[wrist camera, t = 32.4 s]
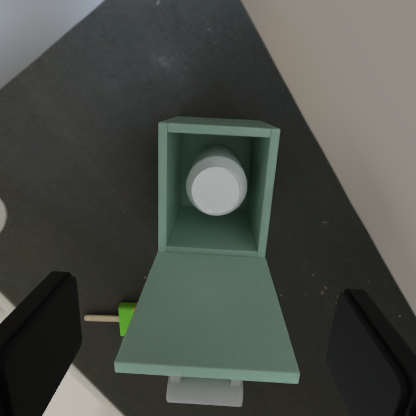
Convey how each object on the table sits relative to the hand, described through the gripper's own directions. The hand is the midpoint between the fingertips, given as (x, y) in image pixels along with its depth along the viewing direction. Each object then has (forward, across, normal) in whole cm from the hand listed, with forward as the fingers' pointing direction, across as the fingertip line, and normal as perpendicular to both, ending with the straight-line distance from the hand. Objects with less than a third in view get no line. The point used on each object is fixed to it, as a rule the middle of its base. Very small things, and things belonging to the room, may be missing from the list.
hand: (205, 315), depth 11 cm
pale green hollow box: (+32, 0, +1) cm, 32 cm away
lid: (+11, 0, +7) cm, 13 cm away
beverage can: (+32, 0, +1) cm, 32 cm away
